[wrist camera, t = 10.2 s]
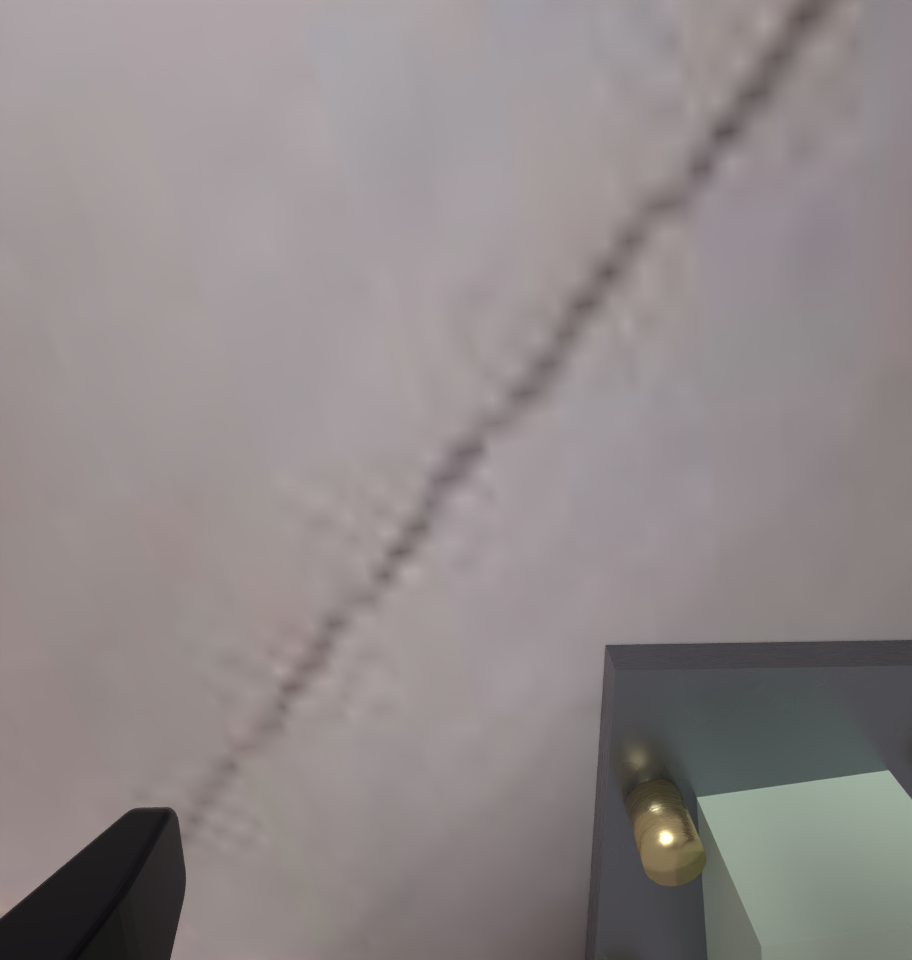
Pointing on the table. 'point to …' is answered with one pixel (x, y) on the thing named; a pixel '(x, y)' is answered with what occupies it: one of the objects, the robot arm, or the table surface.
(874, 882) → the pale green block
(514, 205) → the table surface
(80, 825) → the table surface
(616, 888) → the chassis
